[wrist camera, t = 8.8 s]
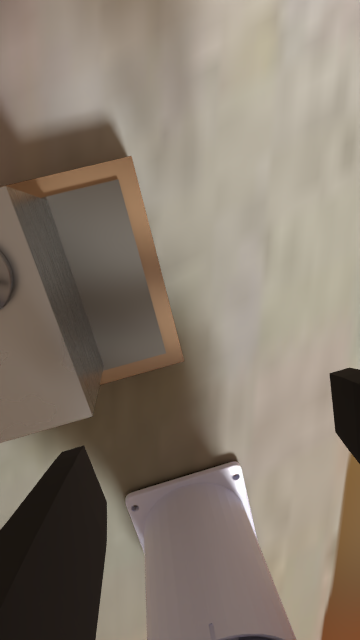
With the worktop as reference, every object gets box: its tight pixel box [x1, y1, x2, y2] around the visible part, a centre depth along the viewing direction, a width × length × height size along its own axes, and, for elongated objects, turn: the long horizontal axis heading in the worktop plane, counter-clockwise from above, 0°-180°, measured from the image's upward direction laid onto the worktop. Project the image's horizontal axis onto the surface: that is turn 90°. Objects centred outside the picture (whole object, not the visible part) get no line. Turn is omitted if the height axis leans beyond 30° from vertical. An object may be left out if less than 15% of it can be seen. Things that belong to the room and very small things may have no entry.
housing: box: [0, 186, 104, 443], centre depth 12 cm, size 8×4×5 cm, turn 13°
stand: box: [2, 156, 184, 385], centre depth 16 cm, size 10×12×2 cm
